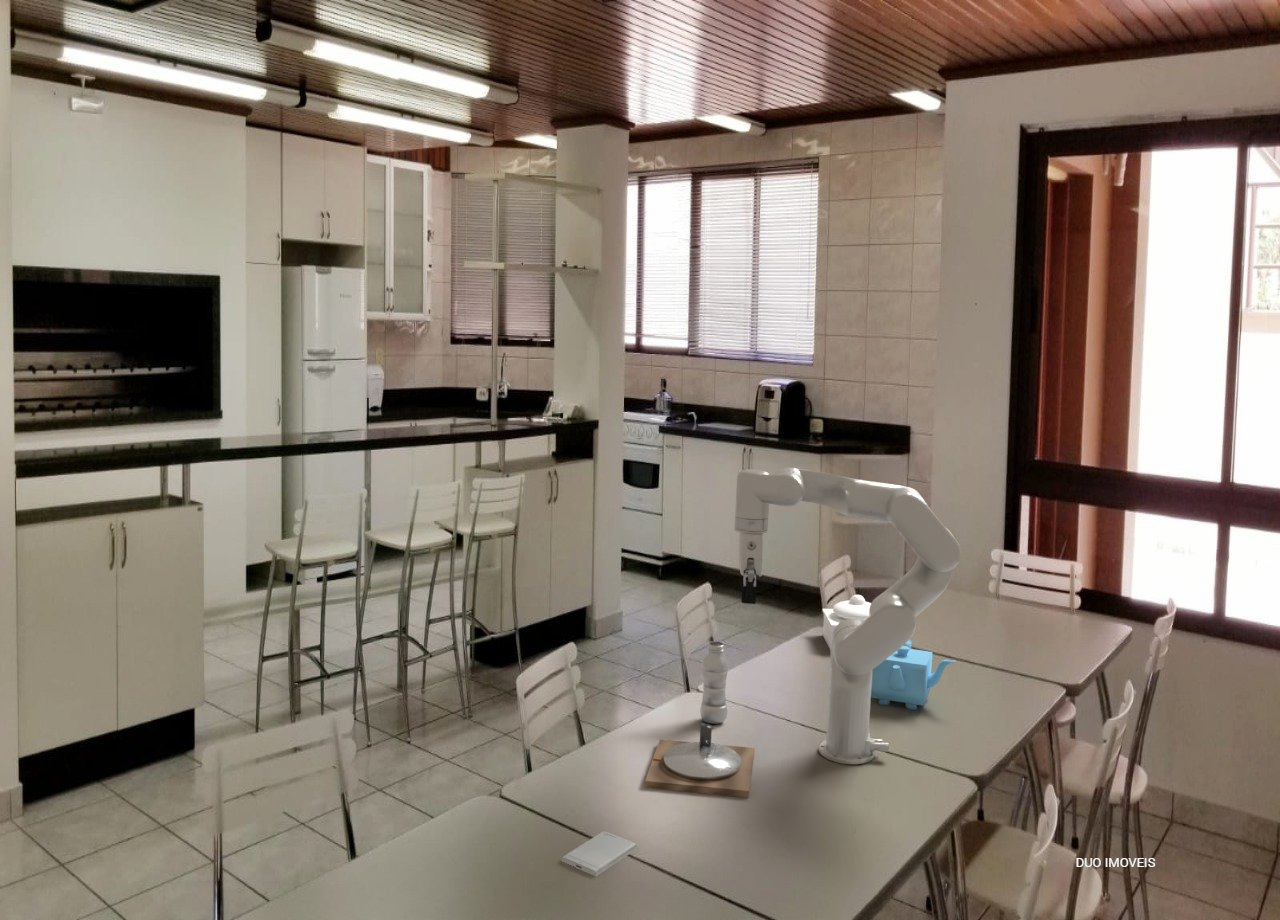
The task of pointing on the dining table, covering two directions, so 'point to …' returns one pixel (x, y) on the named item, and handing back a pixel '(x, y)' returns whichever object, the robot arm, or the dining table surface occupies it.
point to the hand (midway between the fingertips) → (747, 597)
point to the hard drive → (599, 853)
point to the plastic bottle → (714, 684)
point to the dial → (702, 758)
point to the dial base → (726, 786)
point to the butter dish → (844, 614)
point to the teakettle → (906, 677)
